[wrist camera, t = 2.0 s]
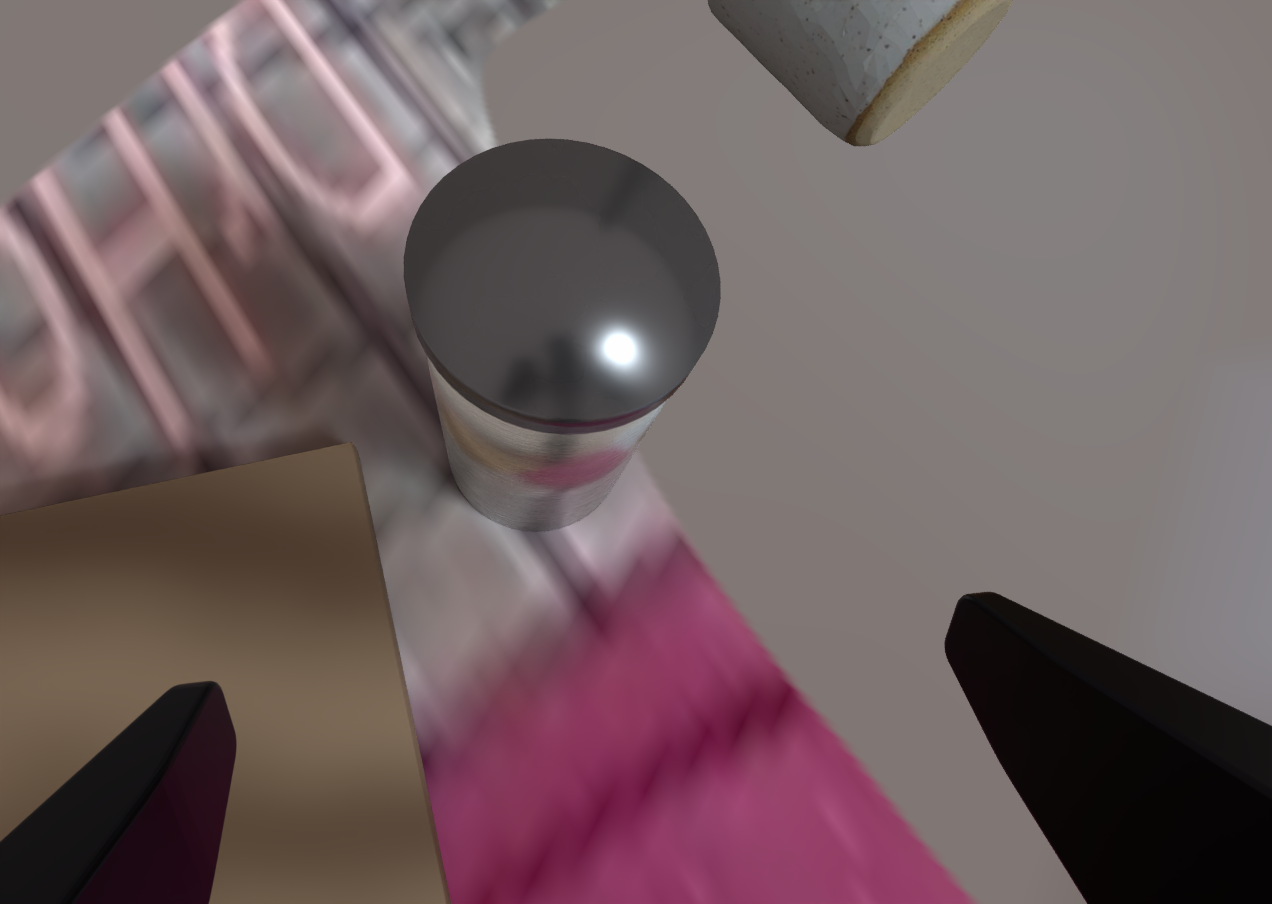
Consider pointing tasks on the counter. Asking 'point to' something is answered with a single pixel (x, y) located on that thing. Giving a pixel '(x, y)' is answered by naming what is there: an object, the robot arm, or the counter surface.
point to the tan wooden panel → (228, 668)
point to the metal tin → (555, 320)
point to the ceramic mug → (862, 53)
